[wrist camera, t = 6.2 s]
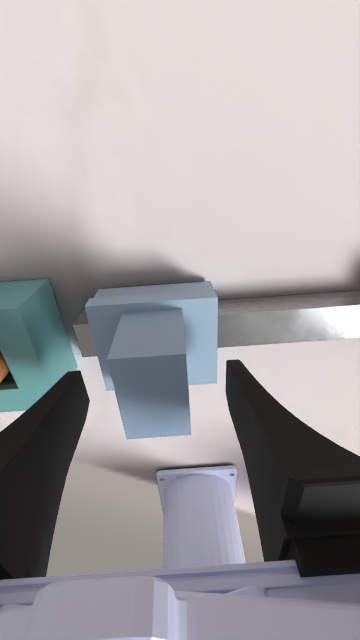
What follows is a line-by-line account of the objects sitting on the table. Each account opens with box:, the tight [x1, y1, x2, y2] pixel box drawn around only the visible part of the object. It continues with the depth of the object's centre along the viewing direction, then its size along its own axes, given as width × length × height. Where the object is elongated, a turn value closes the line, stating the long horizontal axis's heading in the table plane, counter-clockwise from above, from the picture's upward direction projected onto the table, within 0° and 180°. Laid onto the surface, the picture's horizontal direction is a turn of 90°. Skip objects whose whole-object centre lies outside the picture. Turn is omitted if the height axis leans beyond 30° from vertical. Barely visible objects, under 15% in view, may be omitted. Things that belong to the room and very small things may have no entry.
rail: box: [73, 290, 360, 357], centre depth 17 cm, size 5×21×3 cm, turn 93°
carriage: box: [84, 281, 218, 439], centre depth 15 cm, size 6×7×7 cm
